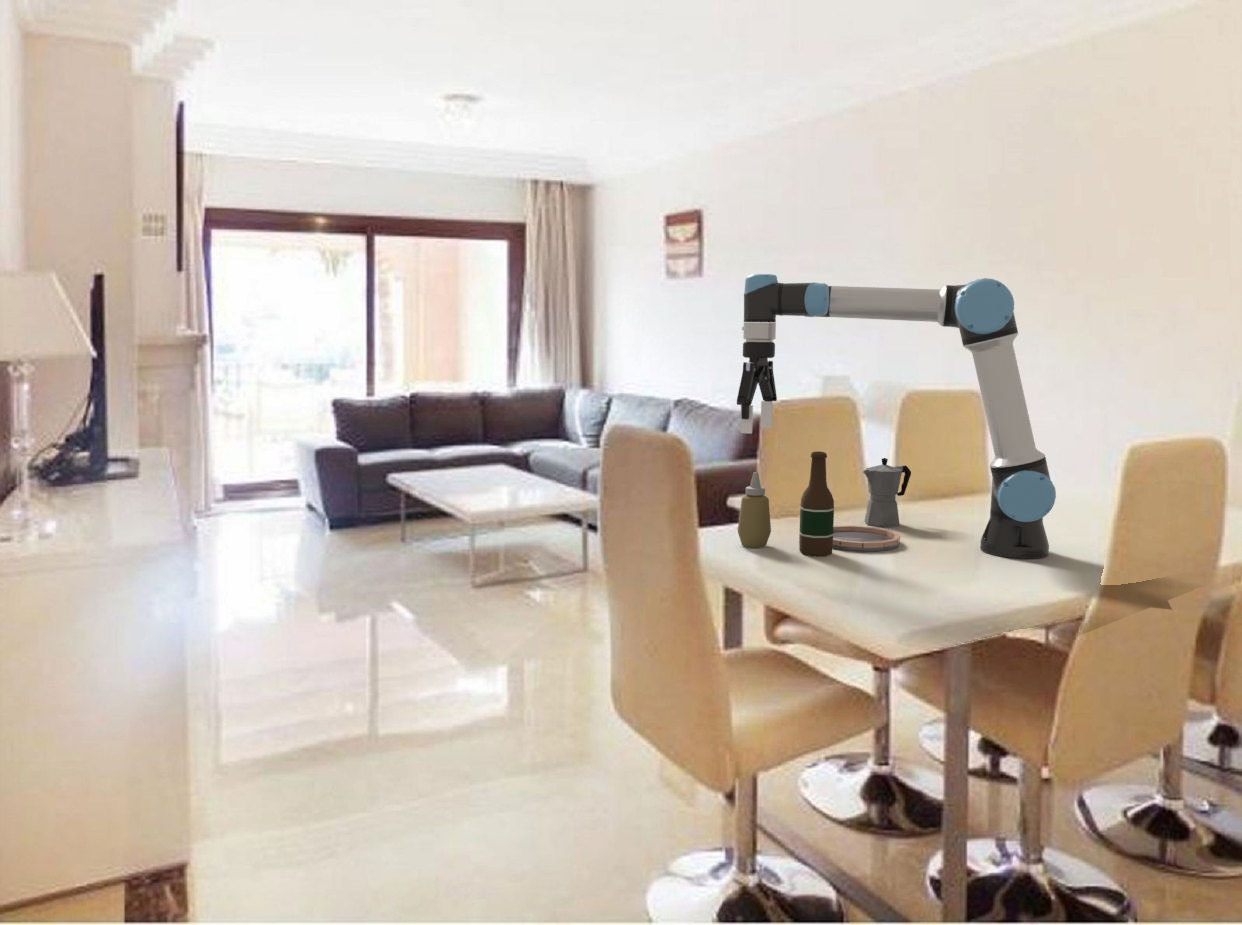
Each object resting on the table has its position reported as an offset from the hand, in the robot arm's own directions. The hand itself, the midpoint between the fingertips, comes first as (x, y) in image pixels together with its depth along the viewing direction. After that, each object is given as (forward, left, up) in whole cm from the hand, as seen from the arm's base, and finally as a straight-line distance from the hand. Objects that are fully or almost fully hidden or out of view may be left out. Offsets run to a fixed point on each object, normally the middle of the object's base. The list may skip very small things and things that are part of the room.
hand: (756, 430), depth 232 cm
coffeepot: (-3, -48, -28) cm, 56 cm away
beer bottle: (-14, -6, -28) cm, 32 cm away
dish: (-13, -23, -28) cm, 39 cm away
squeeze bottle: (0, 0, -28) cm, 28 cm away
